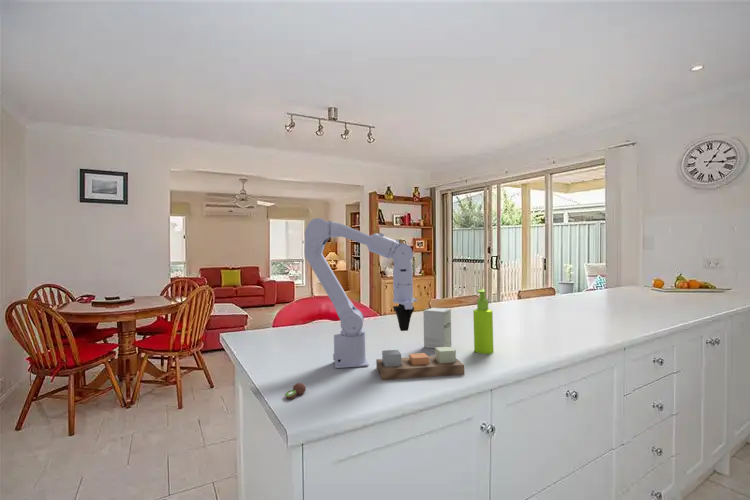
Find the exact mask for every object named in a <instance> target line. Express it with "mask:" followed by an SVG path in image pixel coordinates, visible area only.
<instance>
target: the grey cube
mask: <svg viewBox="0 0 750 500" xmlns="http://www.w3.org/2000/svg"><path fill="white" fill-rule="evenodd" d="M381 352H382V354H381V355H382V356H381V357H382V358H381V359H382V364H383V366H384V367H393V366H401V358H402V353H401V351H400V350H399V349H392V350H391V349H389V350H388V349H387V350H386V349H385V350H382V351H381Z"/></svg>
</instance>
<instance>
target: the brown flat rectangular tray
mask: <svg viewBox="0 0 750 500" xmlns="http://www.w3.org/2000/svg"><path fill="white" fill-rule="evenodd" d="M427 356H428V357H429V364H423V365H411V363H410V362H409V356H408V357H401V366H393V367H384V366H383V364H382V358H379V359H376V361H375V363H376V370H377V373H378V374H379V376H380V379H381V381H385V380H389V381H390V380H398V379H399V380H401V379H417V378H426V377H427V378H432V377H441V376H442V377H443V376H444V377H445V376H458V375H465V364H464V363H463V362H461V361H460V360H459V359H458V358H456V362H454V363H438V362H437V361H436V360H435V355H427Z"/></svg>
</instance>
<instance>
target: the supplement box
mask: <svg viewBox="0 0 750 500" xmlns="http://www.w3.org/2000/svg"><path fill="white" fill-rule="evenodd" d="M451 311H452V308H443V307H441V308H440V307H429V308H428V309H425V310H423V347H424V348H427V349H434V350H435V348H436V347H451V345H452V319H451V318H452V312H451Z"/></svg>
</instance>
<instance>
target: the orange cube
mask: <svg viewBox="0 0 750 500" xmlns="http://www.w3.org/2000/svg"><path fill="white" fill-rule="evenodd" d="M428 356H429V355H427V354H426V353H425V352H419V353H418V352H417V353H408V357H409V362H410V363H411V365H423V364H429V357H428Z"/></svg>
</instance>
